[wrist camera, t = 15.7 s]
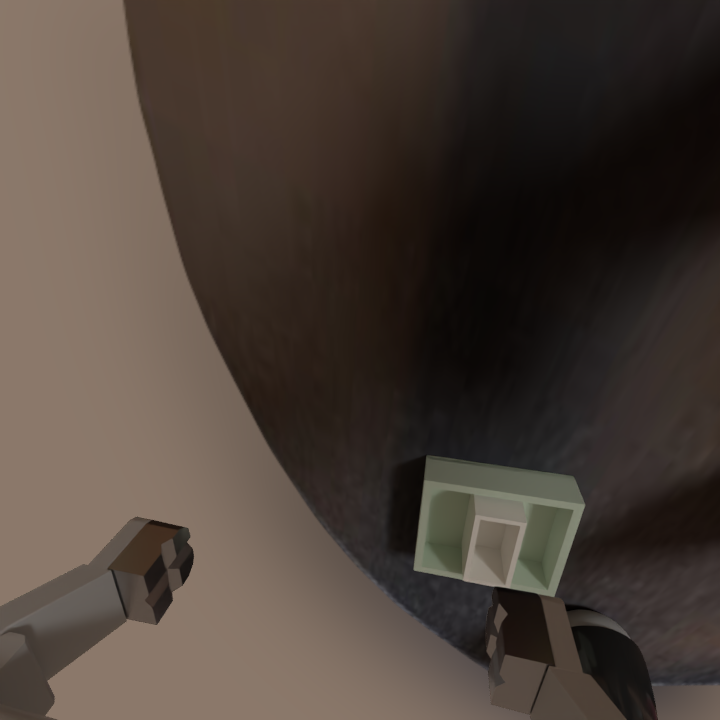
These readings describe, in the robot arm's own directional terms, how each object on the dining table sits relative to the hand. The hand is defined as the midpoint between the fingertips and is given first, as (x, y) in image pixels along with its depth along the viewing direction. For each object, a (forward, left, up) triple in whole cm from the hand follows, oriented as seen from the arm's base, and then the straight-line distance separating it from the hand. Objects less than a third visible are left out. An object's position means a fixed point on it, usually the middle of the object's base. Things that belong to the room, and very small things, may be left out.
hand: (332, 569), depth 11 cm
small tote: (-10, +24, -28) cm, 39 cm away
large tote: (-10, +24, -29) cm, 39 cm away
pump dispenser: (-23, +39, -29) cm, 54 cm away
